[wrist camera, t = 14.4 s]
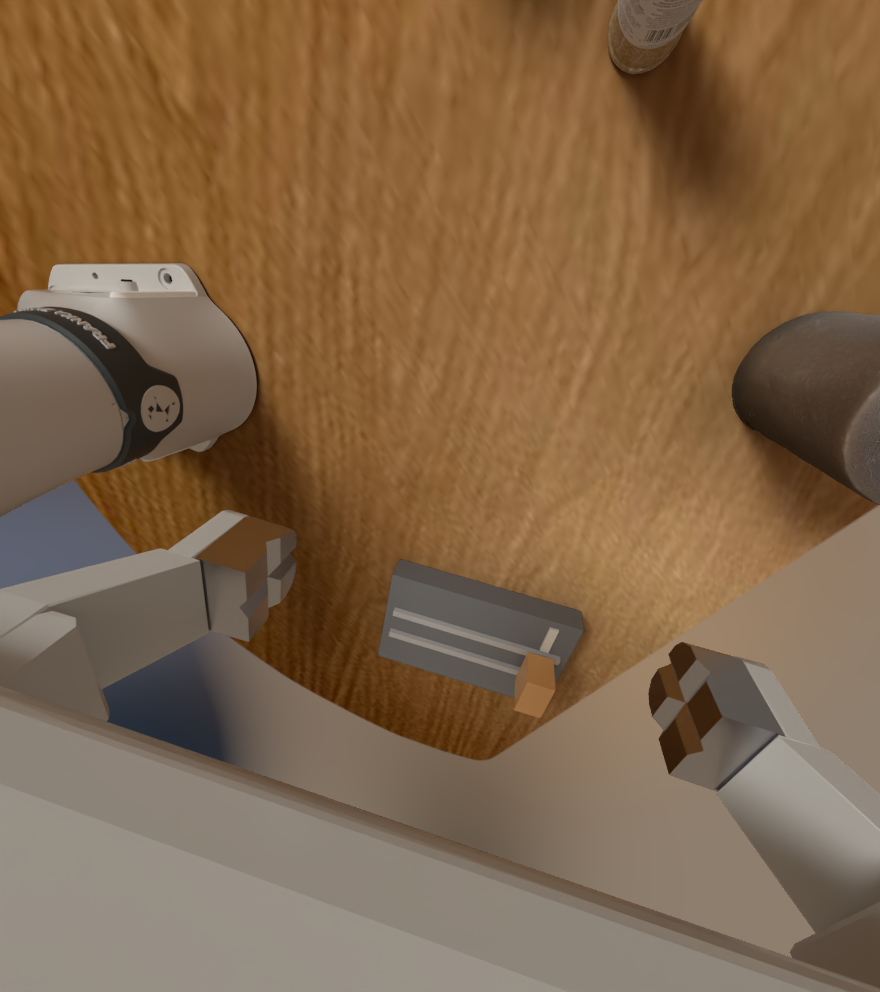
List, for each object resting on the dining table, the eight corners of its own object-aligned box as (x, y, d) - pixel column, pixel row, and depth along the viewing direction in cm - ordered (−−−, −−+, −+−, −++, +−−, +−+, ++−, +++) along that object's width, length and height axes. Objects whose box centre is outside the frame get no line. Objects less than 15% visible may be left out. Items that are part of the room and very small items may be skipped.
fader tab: (515, 673, 49) (513, 710, 45) (527, 646, 46) (527, 681, 42) (539, 681, 49) (540, 718, 44) (553, 654, 46) (555, 690, 42)
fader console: (385, 638, 55) (376, 659, 52) (399, 558, 48) (390, 577, 45) (542, 686, 53) (543, 711, 50) (581, 611, 47) (584, 634, 43)
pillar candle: (728, 444, 35) (844, 537, 22) (734, 327, 31) (879, 357, 18) (867, 423, 32) (1092, 515, 19) (892, 292, 29) (1196, 298, 16)
